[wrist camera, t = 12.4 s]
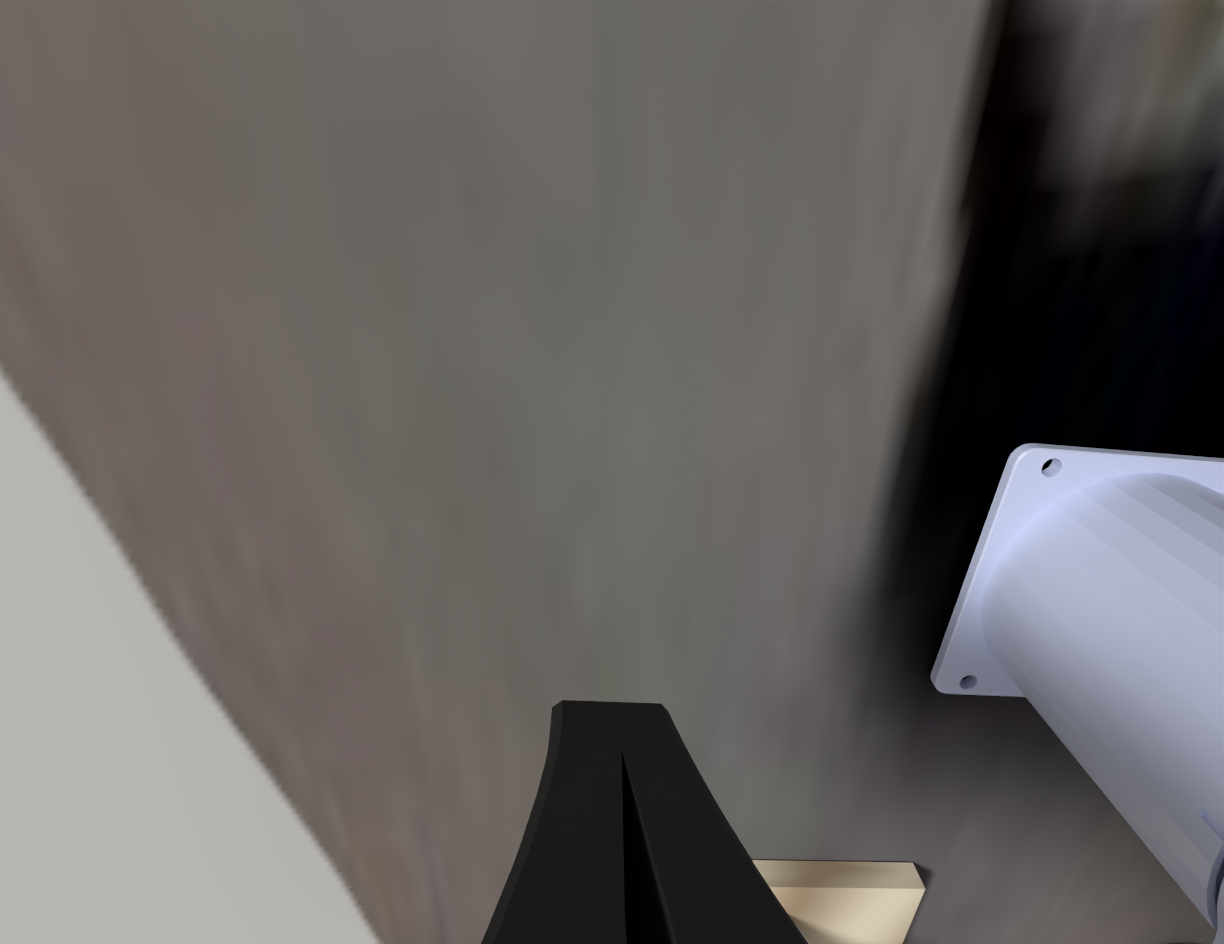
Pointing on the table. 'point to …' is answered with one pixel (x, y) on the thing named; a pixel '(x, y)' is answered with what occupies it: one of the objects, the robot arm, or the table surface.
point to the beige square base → (846, 898)
